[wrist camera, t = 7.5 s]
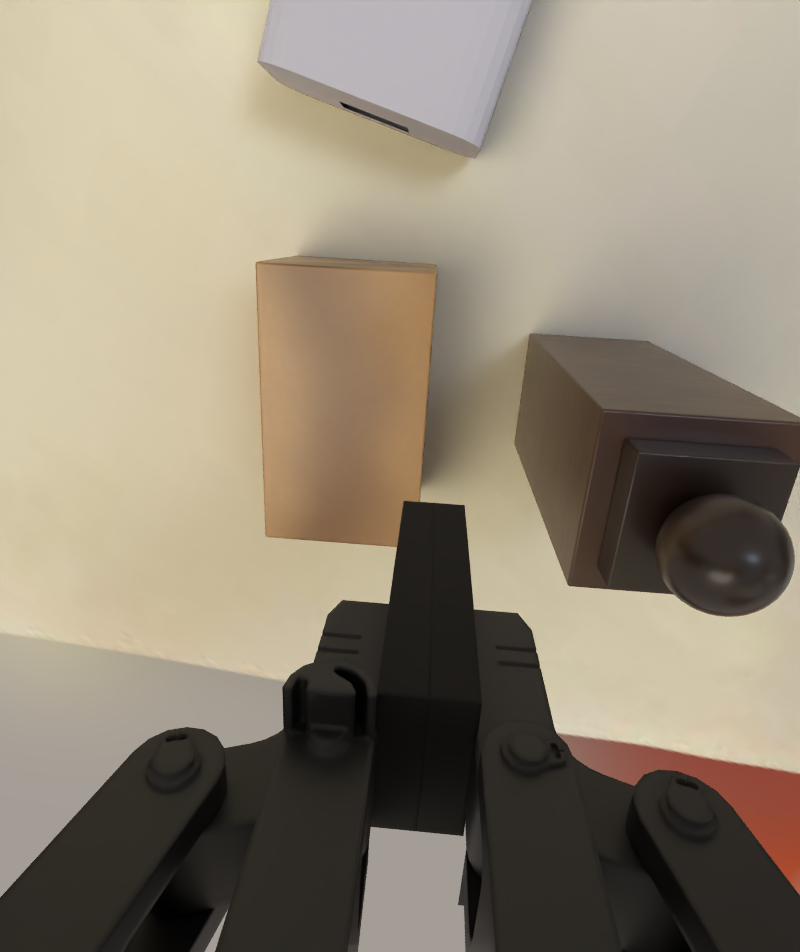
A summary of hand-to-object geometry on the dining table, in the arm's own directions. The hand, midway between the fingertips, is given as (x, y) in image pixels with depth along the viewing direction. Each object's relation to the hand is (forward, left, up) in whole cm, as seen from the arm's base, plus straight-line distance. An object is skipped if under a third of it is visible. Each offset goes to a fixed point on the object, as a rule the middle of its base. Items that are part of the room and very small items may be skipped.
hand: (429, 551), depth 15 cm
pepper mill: (-3, 0, -16) cm, 17 cm away
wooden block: (+4, 0, -18) cm, 18 cm away
